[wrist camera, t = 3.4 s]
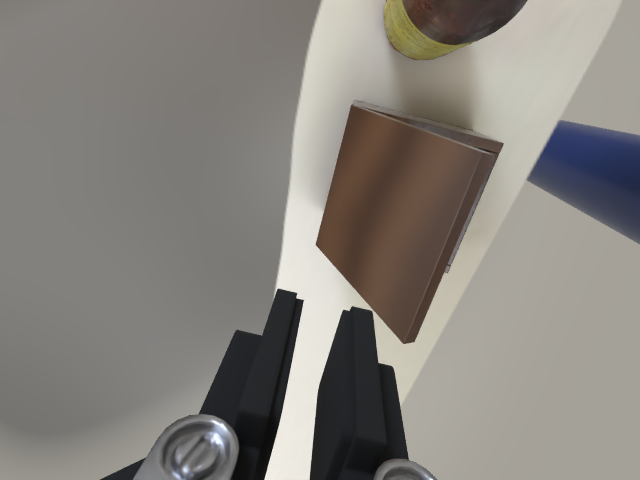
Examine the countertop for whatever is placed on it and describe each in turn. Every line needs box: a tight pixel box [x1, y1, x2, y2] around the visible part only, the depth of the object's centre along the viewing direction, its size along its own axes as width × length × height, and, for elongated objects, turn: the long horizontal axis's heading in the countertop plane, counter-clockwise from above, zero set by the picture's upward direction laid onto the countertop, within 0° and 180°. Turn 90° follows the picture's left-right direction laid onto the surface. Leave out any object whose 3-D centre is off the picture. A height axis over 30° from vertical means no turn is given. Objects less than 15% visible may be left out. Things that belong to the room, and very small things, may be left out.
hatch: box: [316, 105, 494, 344], centre depth 22 cm, size 11×10×1 cm
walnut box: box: [353, 100, 504, 273], centre depth 30 cm, size 10×10×7 cm
